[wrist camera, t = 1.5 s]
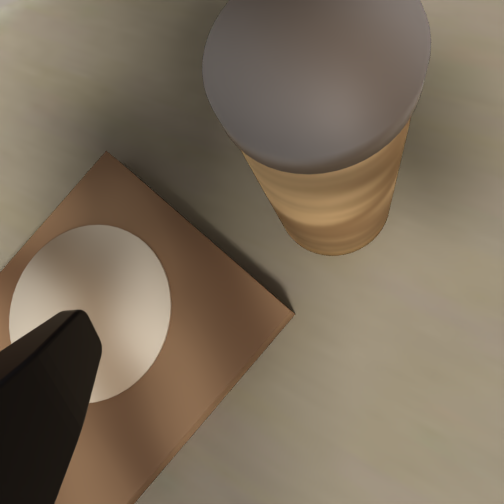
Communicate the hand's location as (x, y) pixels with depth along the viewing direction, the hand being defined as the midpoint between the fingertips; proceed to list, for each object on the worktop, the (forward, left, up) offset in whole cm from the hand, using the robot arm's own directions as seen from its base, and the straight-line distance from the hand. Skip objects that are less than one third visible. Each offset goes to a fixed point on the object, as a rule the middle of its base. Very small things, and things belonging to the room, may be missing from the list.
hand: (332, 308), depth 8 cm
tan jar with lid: (+4, +4, -12) cm, 14 cm away
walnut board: (-9, +8, -12) cm, 17 cm away
